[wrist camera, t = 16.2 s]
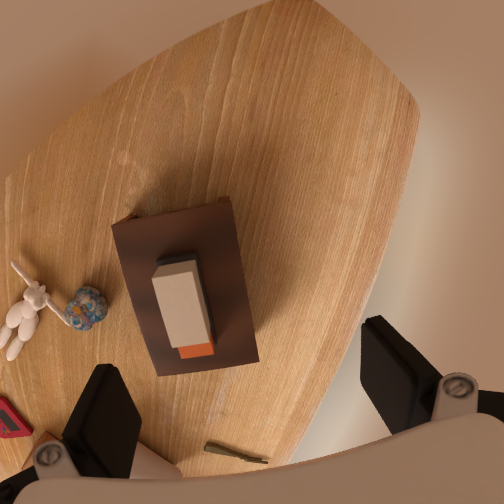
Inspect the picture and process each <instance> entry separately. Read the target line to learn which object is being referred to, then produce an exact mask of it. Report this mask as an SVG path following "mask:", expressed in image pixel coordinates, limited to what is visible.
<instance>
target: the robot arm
mask: <svg viewBox="0 0 504 504" xmlns="http://www.w3.org/2000/svg"><path fill="white" fill-rule="evenodd" d="M360 381H361V384H362V386H363V388H364V390H365V391H366V393H367V395H368V396H369V398H370V399H371V401H372V403H373V404H374V406H375V408H376V409H377V411H378V413H379V414H380V416H381V417H382V419H383V420H384V422H385V424H386V426H387V427H388V429H389V431H390V432H391V434H392V436H389V437H386V438H383V439H380V440H377V441H374V442H371V443H368V444H365V445H362V446H358V447H355V448H352V449H349V450H346V451H342V452H339V453H335V454H331V455H328V456H324V457H320V458H316V459H312V460H308V461H303V462H299V463H294V464H290V465H285V466H280V467H274V468H269V469H263V470H257V471H251V472H244V473H236V474H228V475H219V476H208V477H196V478H178V479H130V474H131V469H132V464H133V460H134V455H135V450H136V446H137V442H138V437H139V433H140V429H141V424H142V421H141V417H140V414H139V412H138V410H137V408H136V406H135V404H134V402H133V400H132V398H131V396H130V394H129V392H128V390H127V388H126V386H125V383H124V381H123V379H122V377H121V375H120V372H119V370H118V368H117V367H114V366H113V365H112V364H110V363H109V364H98V365H97V366H96V367H95V369H94V371H93V373H92V375H91V376H90V378H89V380H88V382H87V384H86V386H85V388H84V390H83V392H82V394H81V396H80V398H79V400H78V402H77V404H76V406H75V408H74V410H73V412H72V414H71V416H70V418H69V420H68V422H67V425H66V427H65V429H64V431H63V433H62V435H61V436H62V437H63V439H62V441H61V442H59V441H55V440H51V441H47V442H44V443H42V444H41V445H39V446H38V447H37V448H36V449H35V451H34V453H33V457H32V459H33V464H34V465H33V466H31V467H29V468H27V469H25V470H23V471H21V472H20V473H18V474H16V475H14V476H12V477H10V478H8V479H6V480H4V481H2V482H1V483H0V504H504V393H503V392H493V391H484V390H478V383H477V382H476V380H475V379H474V378H473V377H471V376H470V375H468V374H465V373H460V372H459V373H451V374H448V375H446V376H444V377H443V376H442V375H441V374H440V373H439V372H438V371H437V370H436V369H435V368H434V367H433V366H432V365H431V364H430V363H429V361H427V359H425V357H423V355H422V354H421V353H420V352H419V351H418V350H417V349H416V348H415V347H414V346H413V345H412V344H411V343H409V342H408V341H406V340H405V339H404V338H403V337H402V336H401V335H400V334H399V333H398V332H397V331H396V330H395V329H394V328H393V327H392V326H391V325H390V324H389V323H388V322H387V321H386V320H385V319H384V318H383V317H382V316H381V315H378V316H374V317H371V318H367V319H366V321H365V323H363V324H362V326H361V369H360Z"/></svg>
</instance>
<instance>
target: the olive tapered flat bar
mask: <svg viewBox="0 0 504 504" xmlns="http://www.w3.org/2000/svg"><path fill="white" fill-rule="evenodd" d="M204 451H206V452H211V453H216V454H221V455H227V456H233V457H239V458H240V459H244V460H245V461H247V462H254V463H262V464H268V462H267V461H262V459H259V458H252V457H247V455H242V454H241V453H237V452H234V451H232V450H229V449H227V448H224V447H222V446H219V445H217V444H214V443H209V442H207V443H206V445H205V447H204Z"/></svg>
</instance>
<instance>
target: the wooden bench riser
mask: <svg viewBox="0 0 504 504" xmlns="http://www.w3.org/2000/svg"><path fill="white" fill-rule="evenodd" d="M111 227H112V231H113V236H114V240H115V244H116V248H117V252H118V256H119V259H120V263H121V267H122V270H123V274H124V278H125V281H126V285H127V288H128V291H129V295H130V298H131V301H132V304H133V308H134V311H135V314H136V317H137V320H138V323H139V326H140V329H141V332H142V335H143V338H144V341H145V343H146V346H147V349H148V352H149V355H150V357H151V360H152V363H153V365H154V368H155V370H156V373H157V376H158V377H159V376H168V375H177V374H185V373H193V372H200V371H207V370H214V369H221V368H227V367H233V366H239V365H245V364H250V363H256V362H259V356H258V351H257V345H256V340H255V334H254V329H253V324H252V318H251V312H250V307H249V301H248V296H247V290H246V285H245V279H244V273H243V268H242V262H241V256H240V251H239V245H238V239H237V233H236V228H235V222H234V216H233V210H232V204H231V200H230V197H229V196H225V197H220V198H219V202H217V203H212V204H206V205H201V206H196V207H191V208H185V209H180V210H175V211H170V212H165V213H160V214H156V215H151V216H146V217H141V218H138V217H137V214H135V215H130V216H127V217H125V218H124V219H122V220H120V221H118V222H117V223H115V224H113V225H111ZM193 251H197V253H198V258H199V262H200V267H201V272H202V276H203V281H204V285H205V289H206V294H207V298H208V303H209V307H210V311H211V315H212V320H213V324H214V328H215V332H216V336H217V345H215V346H214V354H212V355H206V356H199V357H192V358H185V359H181V356H180V353H179V350H178V347H175V348H172V346H171V343H170V340H169V337H168V333H167V330H166V327H165V324H164V320H163V317H162V314H161V310H160V307H159V303H158V300H157V296H156V293H155V289H154V286H153V282H152V277H153V275H154V274H155V272H156V270H157V266H156V260H157V259H158V258H161V257H166V256H172V255H177V254H182V253H188V252H193Z"/></svg>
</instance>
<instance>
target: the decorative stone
mask: <svg viewBox="0 0 504 504" xmlns="http://www.w3.org/2000/svg"><path fill="white" fill-rule="evenodd" d="M106 315H107V303H106V301H105V298H104V297H103V296H102V294H101V293H100V292H99V291H98V290H97V289H94V288H92V287H90V286H85V287H82V288H79V289H78V290H77V292H76V297H75V299H73V300H71V301H70V303H69V304H68V305H67V307H66V308H65V311H64V316H65V319H66V322H67V323H68V324H69V325H70V326H71V327H73V328H74V329H76V330H79V331H87V330H89V329H91V328H92V325H93V324H94V323H95V322H99V321H101V320H103V319H104V318H105V316H106Z"/></svg>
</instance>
